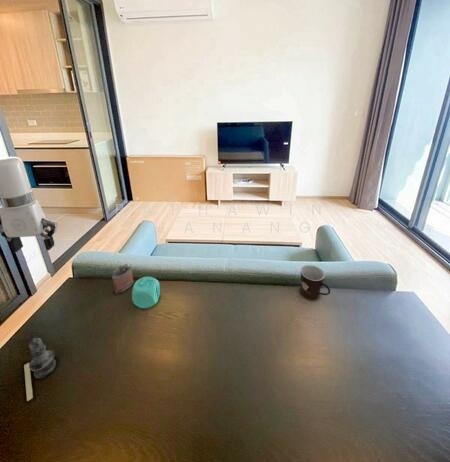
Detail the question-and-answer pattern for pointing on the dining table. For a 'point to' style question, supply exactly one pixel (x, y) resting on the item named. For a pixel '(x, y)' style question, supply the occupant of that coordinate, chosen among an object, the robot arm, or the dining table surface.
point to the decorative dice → (146, 292)
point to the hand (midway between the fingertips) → (34, 248)
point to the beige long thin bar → (28, 382)
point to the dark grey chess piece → (41, 359)
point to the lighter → (122, 278)
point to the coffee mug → (312, 282)
